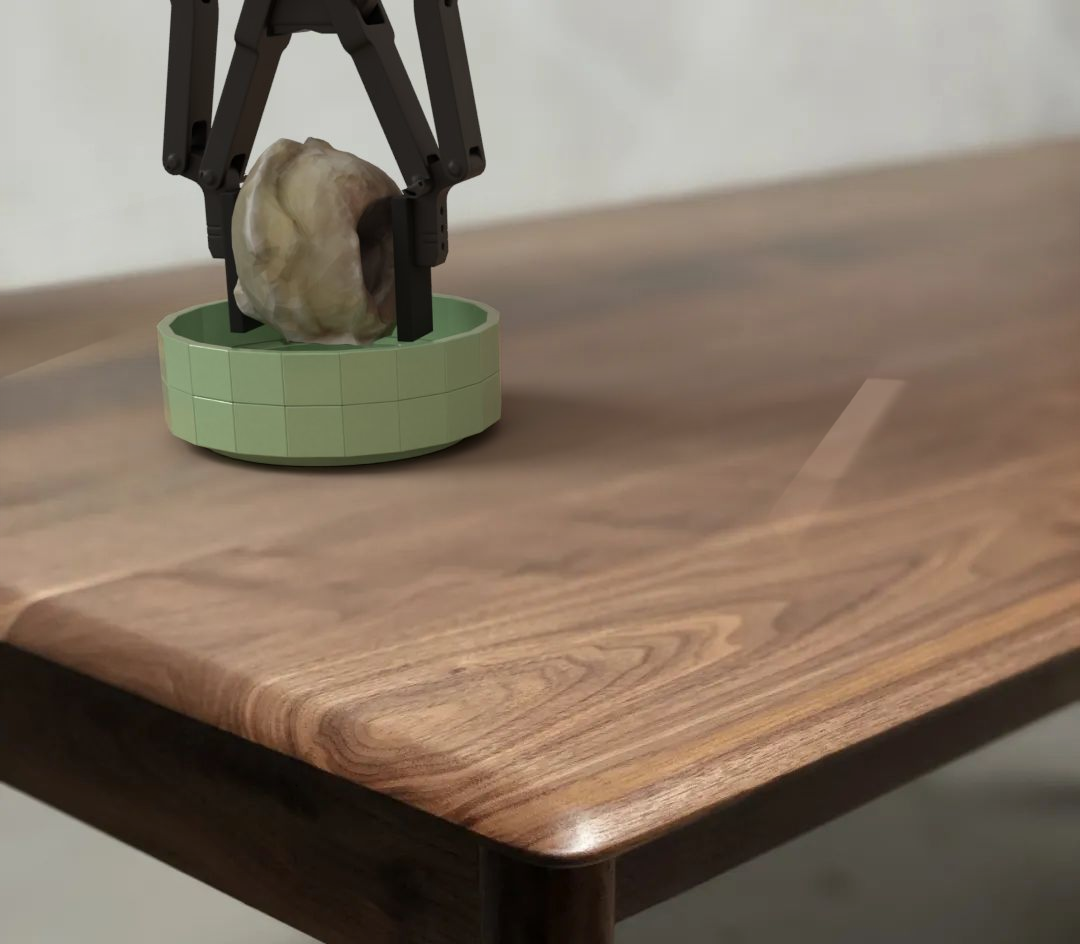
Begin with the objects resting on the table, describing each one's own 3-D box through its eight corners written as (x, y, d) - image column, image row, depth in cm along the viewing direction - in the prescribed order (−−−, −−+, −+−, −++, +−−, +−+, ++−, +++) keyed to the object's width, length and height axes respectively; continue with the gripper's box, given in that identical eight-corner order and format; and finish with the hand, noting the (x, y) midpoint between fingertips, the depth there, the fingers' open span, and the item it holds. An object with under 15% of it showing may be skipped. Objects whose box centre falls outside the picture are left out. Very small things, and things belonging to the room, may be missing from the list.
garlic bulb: (268, 403, 86) (180, 205, 81) (273, 337, 93) (192, 150, 88) (457, 338, 85) (382, 133, 80) (448, 276, 92) (378, 84, 87)
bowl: (105, 460, 86) (93, 342, 84) (259, 385, 100) (252, 282, 98) (430, 486, 81) (426, 362, 79) (544, 404, 95) (543, 296, 93)
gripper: (556, -200, 80) (561, 327, 89) (132, -184, 86) (176, 308, 95) (499, -212, 73) (510, 359, 82) (44, -193, 79) (100, 336, 88)
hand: (331, 331), depth 88 cm, fingers closed on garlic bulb, 8 cm apart
